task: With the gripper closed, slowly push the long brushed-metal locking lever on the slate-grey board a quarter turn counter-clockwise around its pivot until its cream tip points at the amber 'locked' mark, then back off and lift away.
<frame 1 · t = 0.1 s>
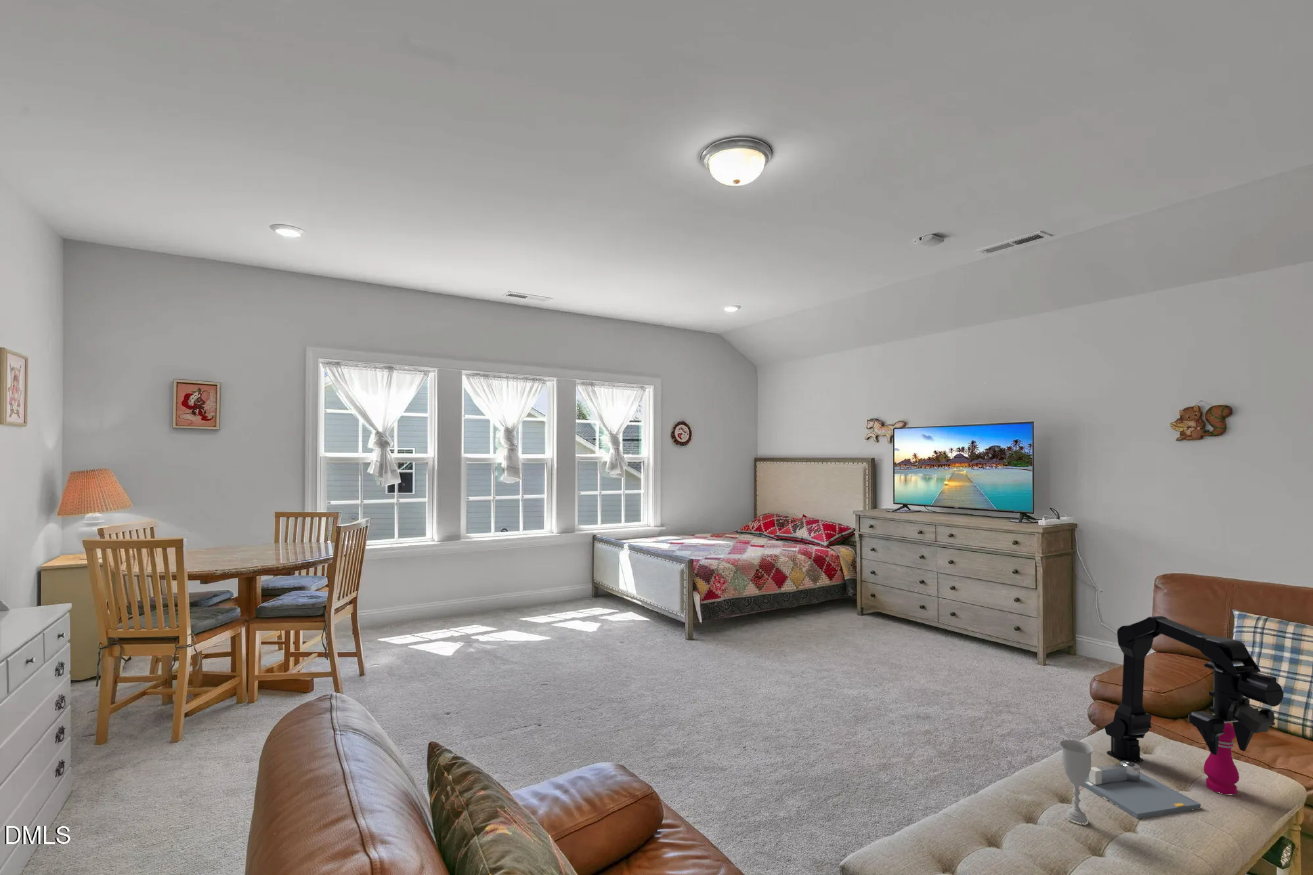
hand: (1228, 752, 164), 15 cm above the table, fingers open, 9 cm apart
chalice: (1076, 820, 160), on the table
mount board: (1131, 792, 173), on the table
pepper mill: (1221, 789, 174), on the table
lock lever: (1114, 772, 176), point 4 cm above the table, hinge at 0.0°
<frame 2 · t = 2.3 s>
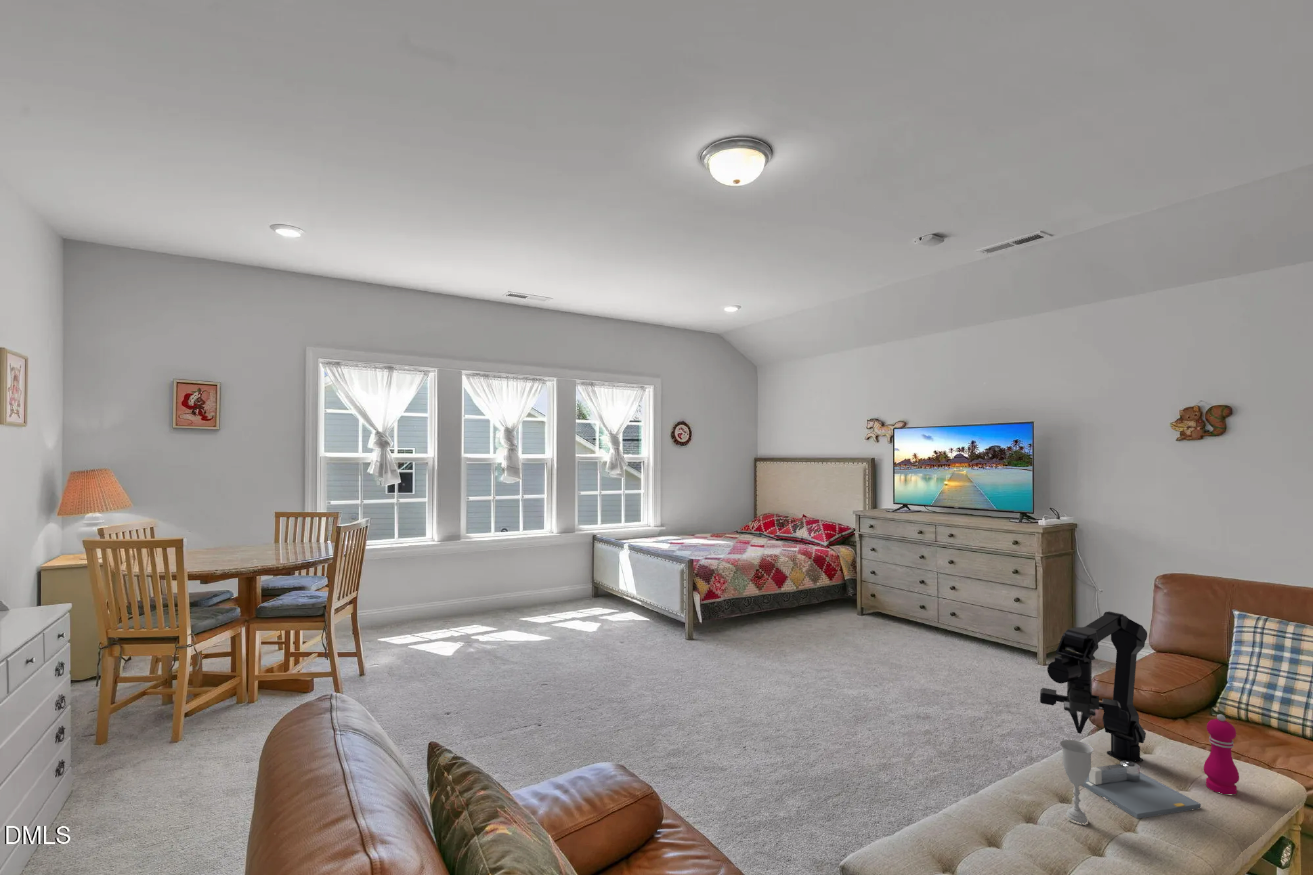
hand: (1079, 732, 181), 12 cm above the table, fingers closed
nothing on the table moved.
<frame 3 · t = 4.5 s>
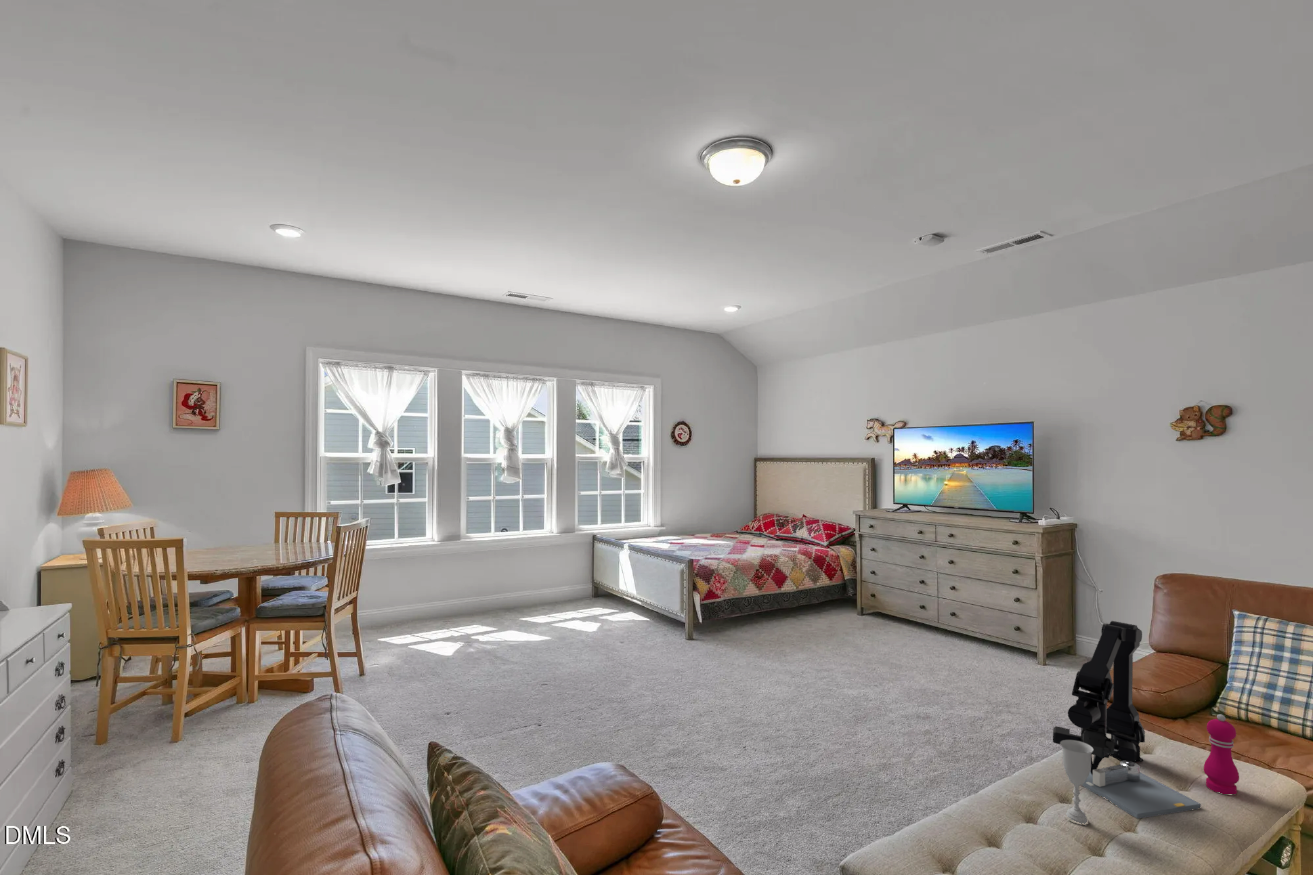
hand: (1092, 774, 177), 3 cm above the table, fingers closed
lock lever: (1116, 772, 176), point 4 cm above the table, hinge at 5.2°, touching gripper
everything else where it was.
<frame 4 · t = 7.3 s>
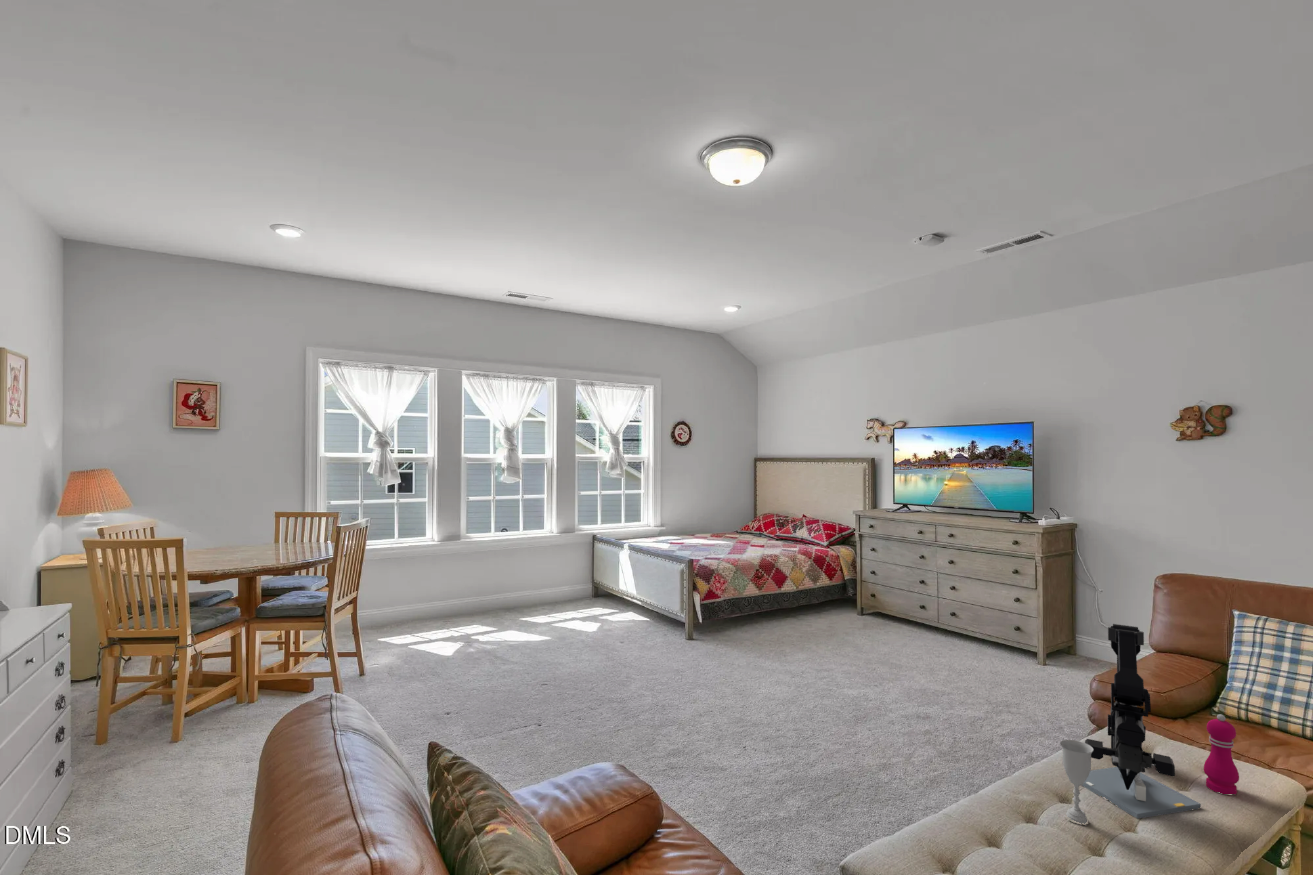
hand: (1127, 789, 169), 2 cm above the table, fingers closed
lock lever: (1134, 778, 173), point 4 cm above the table, hinge at 51.7°, touching gripper
everything else where it was.
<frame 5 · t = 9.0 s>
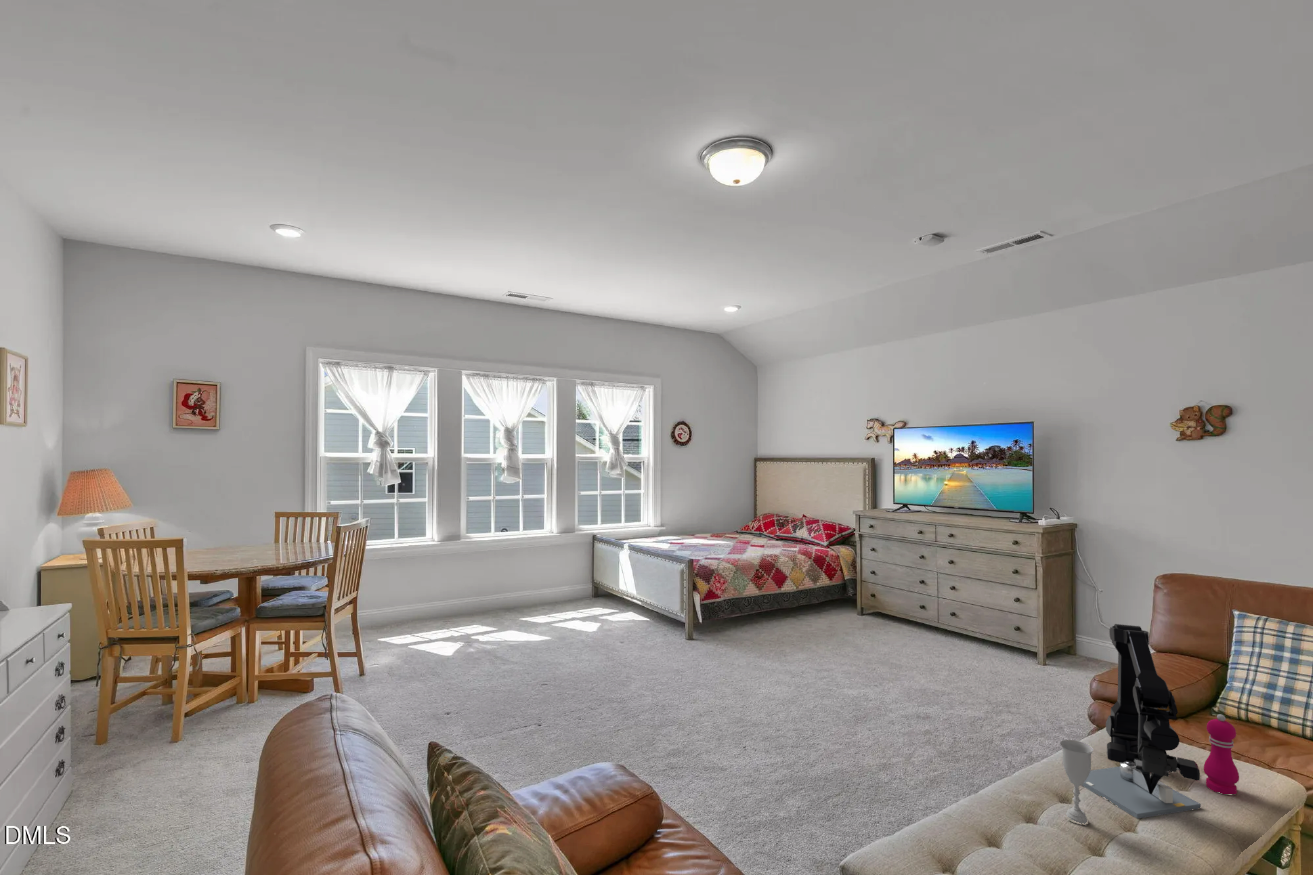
hand: (1150, 793, 167), 3 cm above the table, fingers closed
lock lever: (1145, 779, 172), point 4 cm above the table, hinge at 80.9°, touching gripper
everything else where it was.
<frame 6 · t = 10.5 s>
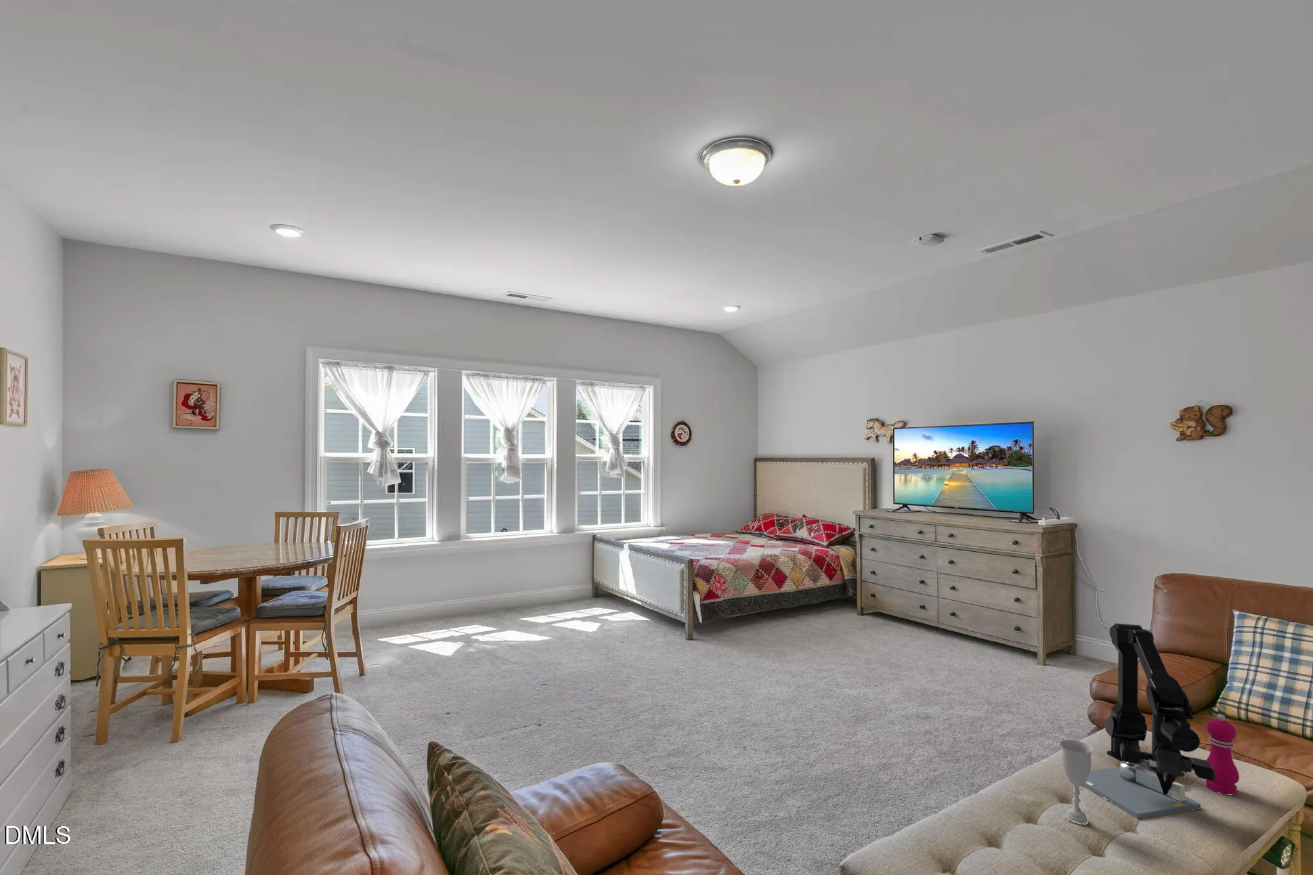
hand: (1165, 793, 167), 3 cm above the table, fingers closed
lock lever: (1150, 778, 173), point 4 cm above the table, hinge at 101.5°, touching gripper
everything else where it was.
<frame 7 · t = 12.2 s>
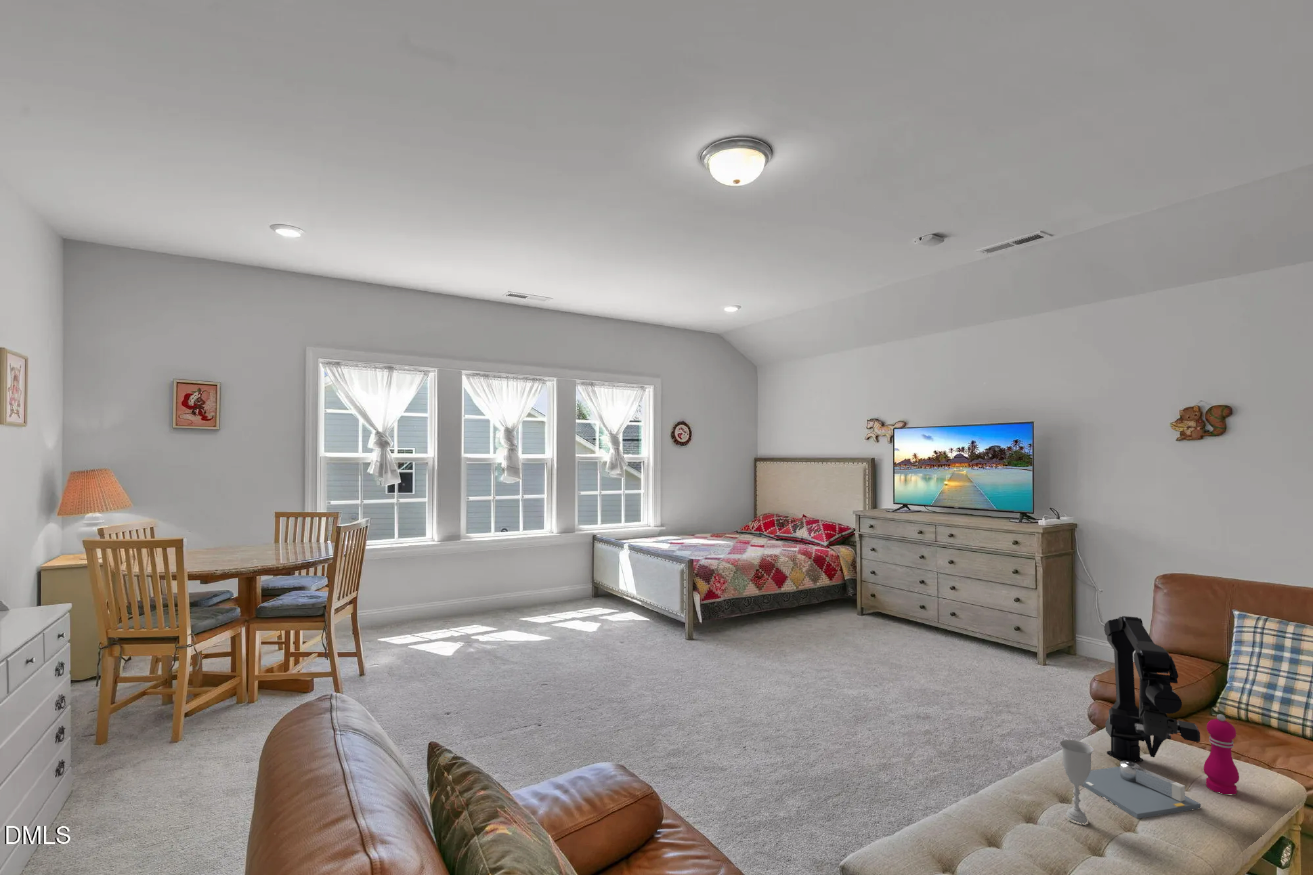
hand: (1152, 756, 171), 10 cm above the table, fingers closed
lock lever: (1150, 778, 173), point 4 cm above the table, hinge at 101.7°
everything else where it was.
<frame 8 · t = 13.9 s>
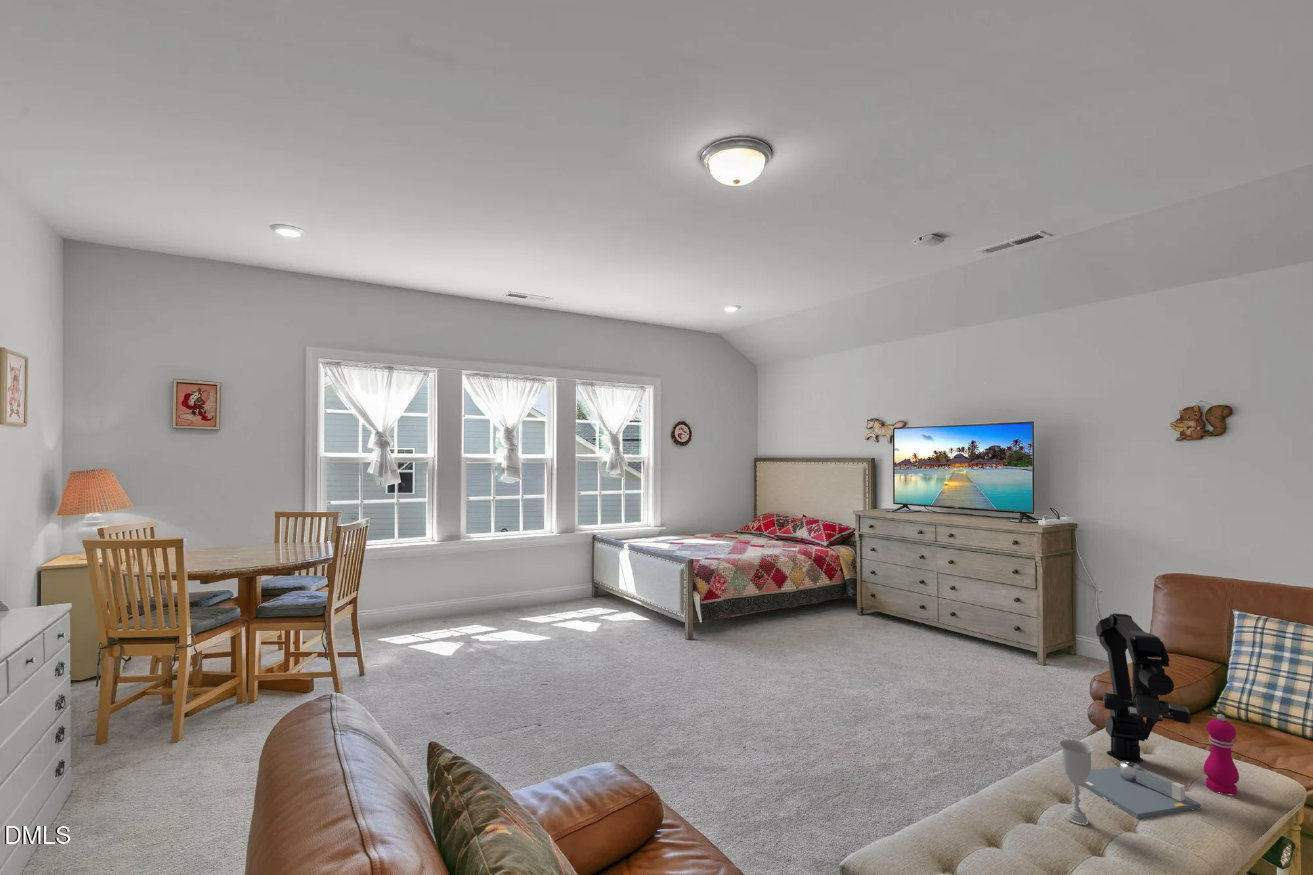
hand: (1145, 739, 177), 12 cm above the table, fingers closed
nothing on the table moved.
at the end: lock lever at +102° (first picture: +0°); the gripper is holding nothing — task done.
